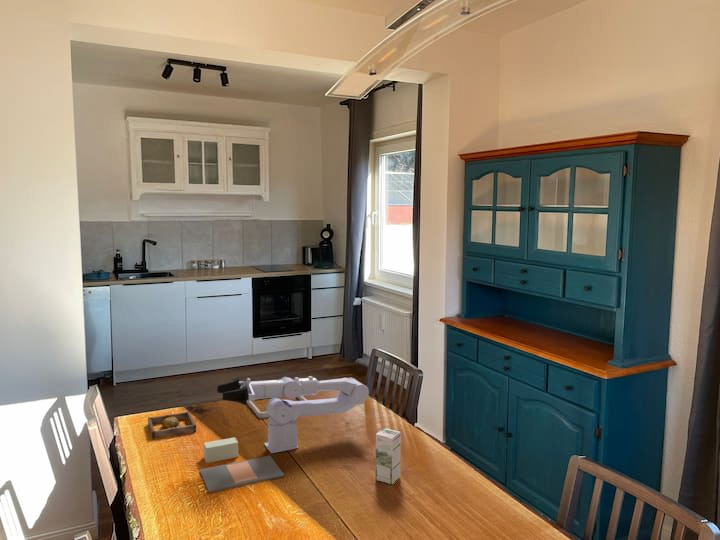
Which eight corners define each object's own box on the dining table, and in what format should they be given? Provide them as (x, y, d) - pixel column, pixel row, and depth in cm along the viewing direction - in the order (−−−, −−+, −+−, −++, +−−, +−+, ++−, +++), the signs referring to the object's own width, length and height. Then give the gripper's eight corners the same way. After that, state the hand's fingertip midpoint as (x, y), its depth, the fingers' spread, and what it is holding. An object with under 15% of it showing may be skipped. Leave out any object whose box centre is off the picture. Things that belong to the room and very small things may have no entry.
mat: (270, 457, 175) (270, 455, 175) (284, 476, 162) (284, 474, 162) (199, 471, 165) (199, 469, 165) (208, 492, 152) (208, 490, 152)
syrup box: (400, 477, 162) (401, 430, 160) (391, 486, 157) (392, 437, 155) (384, 472, 165) (384, 426, 163) (374, 481, 160) (375, 433, 158)
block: (235, 451, 179) (234, 437, 178) (238, 457, 175) (238, 442, 174) (204, 457, 174) (203, 442, 174) (206, 463, 171) (206, 448, 170)
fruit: (170, 434, 192) (169, 424, 192) (155, 429, 197) (155, 419, 197) (189, 427, 199) (189, 417, 199) (175, 422, 204) (174, 412, 203)
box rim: (294, 393, 236) (294, 388, 236) (312, 409, 217) (312, 404, 216) (244, 400, 226) (244, 395, 226) (259, 418, 207) (259, 413, 207)
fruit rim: (189, 417, 207) (189, 411, 207) (196, 431, 194) (195, 425, 194) (148, 424, 201) (148, 417, 200) (152, 439, 188) (152, 432, 187)
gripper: (256, 371, 184) (215, 373, 178) (269, 384, 171) (226, 386, 165) (255, 392, 184) (214, 395, 178) (268, 405, 171) (224, 409, 165)
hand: (220, 392), depth 171 cm, fingers open, 7 cm apart
